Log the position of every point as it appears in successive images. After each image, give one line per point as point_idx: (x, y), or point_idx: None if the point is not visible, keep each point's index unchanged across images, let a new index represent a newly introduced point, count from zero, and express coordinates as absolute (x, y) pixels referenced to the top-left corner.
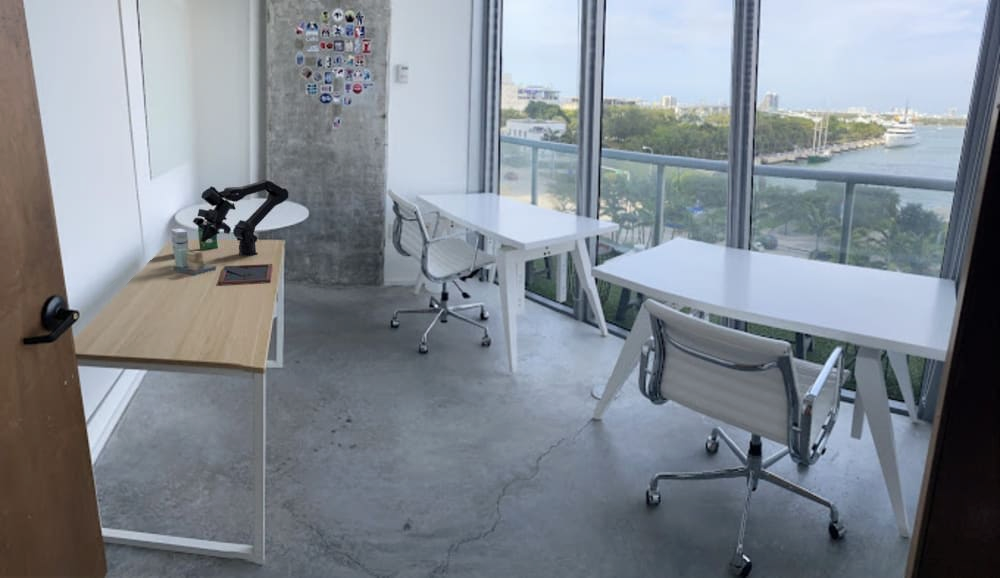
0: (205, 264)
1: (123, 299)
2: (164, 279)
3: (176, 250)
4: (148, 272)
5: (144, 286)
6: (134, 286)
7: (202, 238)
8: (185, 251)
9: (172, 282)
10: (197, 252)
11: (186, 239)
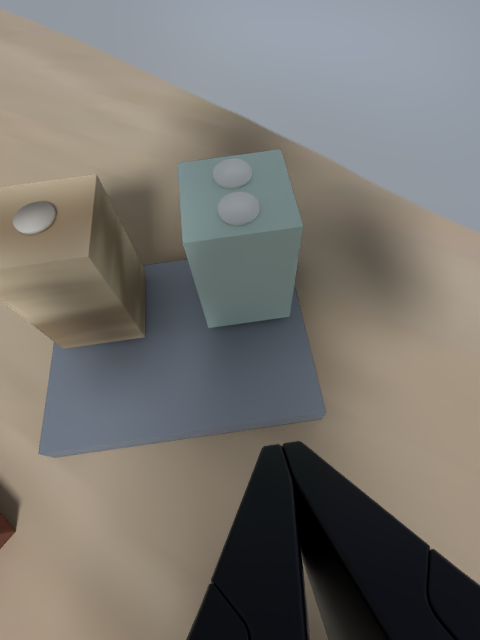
0: (163, 427)
1: (57, 40)
2: (150, 172)
3: (249, 157)
4: (335, 170)
5: (127, 102)
6: (160, 85)
7: (281, 468)
8: (182, 209)
9: (73, 175)
10: (4, 239)
11: None
